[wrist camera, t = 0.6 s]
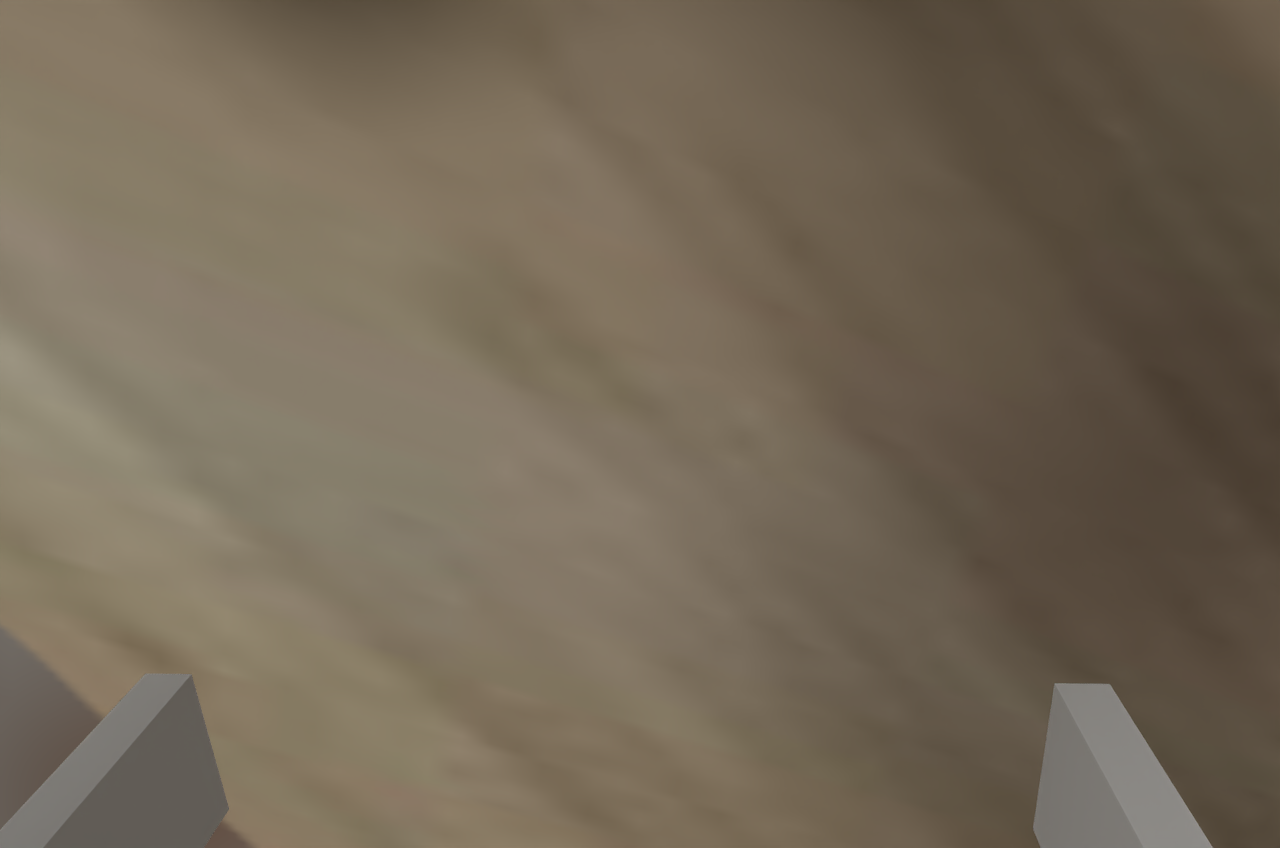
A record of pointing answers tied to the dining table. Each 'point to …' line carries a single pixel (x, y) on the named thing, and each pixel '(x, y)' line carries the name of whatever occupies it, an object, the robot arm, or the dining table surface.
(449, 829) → the dining table surface
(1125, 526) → the dining table surface
